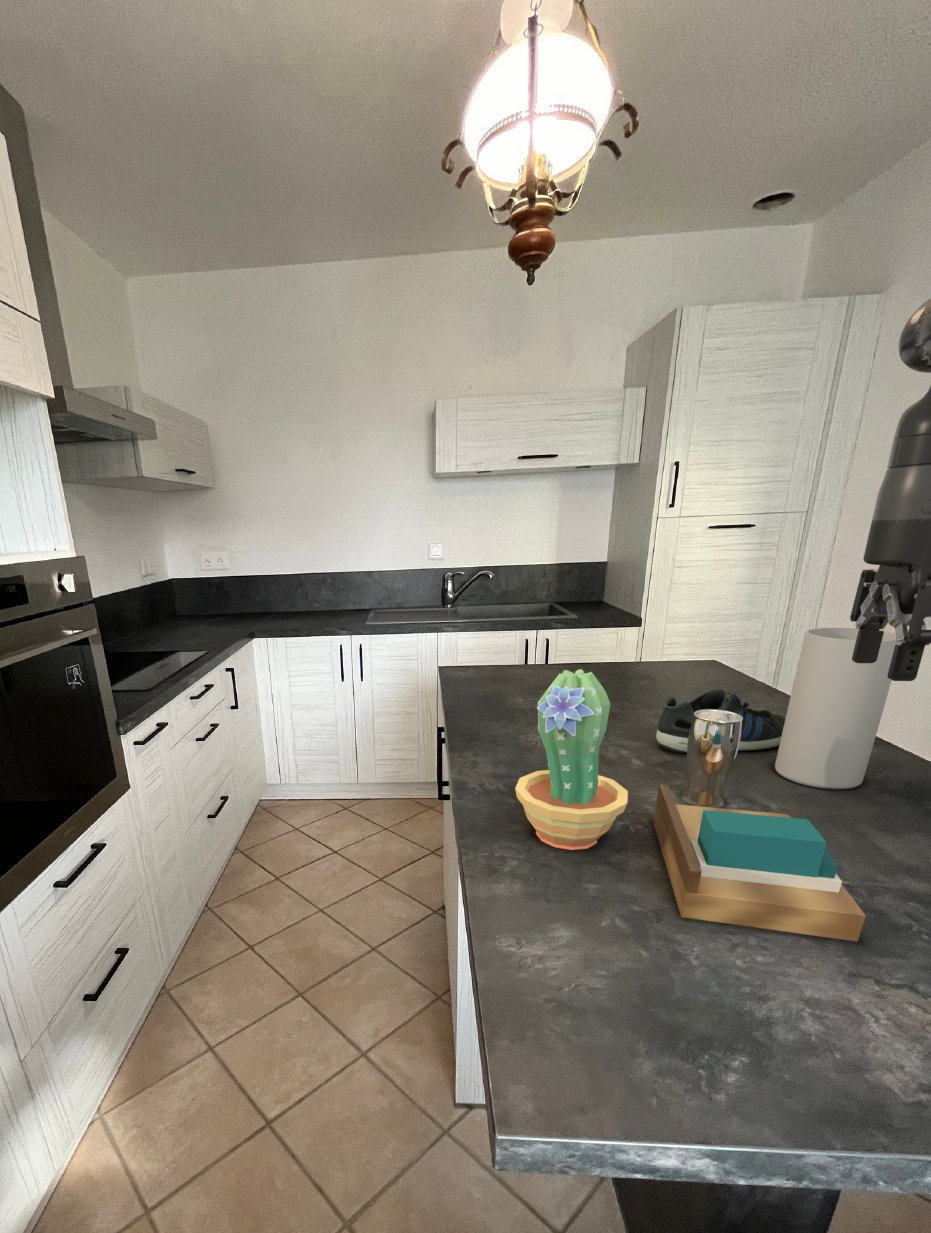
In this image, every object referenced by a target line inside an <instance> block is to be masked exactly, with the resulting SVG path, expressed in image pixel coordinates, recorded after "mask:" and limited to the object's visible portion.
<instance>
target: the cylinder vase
mask: <svg viewBox="0 0 931 1233" xmlns="http://www.w3.org/2000/svg"><path fill="white" fill-rule="evenodd" d="M859 630H860V629H856V627H816V628H809V629H806V630H805V632H804V634H803V635H804V636H803V640H802V644H801V649H800V654H799V658H798V662H797V665H796V671H795V676H794V680H793V684H792V689H791V693H790V698H789V701H788V706H787V710H786V715H785V718H786V719H785V723H784V728H783V732H782V737H781V741H780V745H779V746H778V750H777V754H776V759H775V763H774V769H775V771H776V772H777V774H779V775H780V776H782V777H783V778H784V779H787V780H788V781H791V782H794V783H795V784H796V783H797V784H800V785H803V786H807V787H810V788H811V787H812V788H817V789H824V790H849V789H855V788H857V787H859V786H860V785H862V783H863V782H864V778H865V775H866V771H867V768H868V765H869V761H870V757H871V754H872V751H873V748H874V743H875V740H876V737H877V733H878V730H879V726H880V724H881V720H882V716H883V712H884V709H885V706H886V702H887V699H888V695H889V692H890V687H891V685H892V681H893V680H891V679H889V678H888V676H887V675H888V671H889V667H890V664H891V660H892V656H893V652H894V648H895V645H898V644H897V642H896V633H895V632H891V631H886V630H883V631H884V634H883V638H882V642H881V646H880V650H879V654H878V658H877V661H876V662H874V663H856V662H854V661H853V660H852V656H853V652H854V647H855V643H856V639H857V634H858V631H859Z"/></svg>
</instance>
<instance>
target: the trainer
mask: <svg viewBox="0 0 931 1233" xmlns="http://www.w3.org/2000/svg"><path fill="white" fill-rule="evenodd" d="M691 845H692V848H693V850H694V853H695V855H696V858H697V860H698V863H699V866H700V868H701V871H702V873H701V876H703V877H711V878H719V879H728V880H736V881H744V882H753V883H761V884H770V885H778V886H786V887H795V888H803V889H812V890H820V891H828V892H837V893H839V891H840V887H841V884H842V883H843V880H842V879H841V878H840V876H839V875H838V874H837V872H838V867H839V864H838V863H837V861H836V860H835V858H833V856H832V855H831V854H830V853H829V851H828V849H827V848H826V847H827V840H826V839H825V838H824V837H823V836H822V835H821V833H820V832H819V831H818V830H817V828H816V827H815V826H814V825H813V824H812V823H811V821H810V820H809V819H807V818H799V817H791V818H787V817H776V816H765V815H754V814H743V813H732V812H721V811H710V810H703V815H702V820H701V825H700V831H699V836H698V841H691ZM842 885H843V884H842Z"/></svg>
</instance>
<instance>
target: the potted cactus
mask: <svg viewBox="0 0 931 1233" xmlns="http://www.w3.org/2000/svg"><path fill="white" fill-rule="evenodd" d="M610 708H611V701H610V699H609V697H608V694H607V691H606V690H605V689H604V687H603V686H602V684H601V683H600V681H599V680H598V678H597V677H596V675H595V674H594V673H593V672H592V671H590V672H586V673H585V672H584V670H583V669H580V668H579V669H577V670H576V671H575V672H572V671H570V670H567V669H565V670H563V671H562V672H561V673H558V675H557V676H556V678H554V680H553V681H552V683H551V684H550V685H549V686H548V688H547V689H546V690H545V691H544V693H543V694H542V696H541V697H540V698H539V700H538V701H537V707H536V709H537V733H538V735H539V737H540V739H541V742H542V744H543V747H544V750H545V753H546V759H547V760H546V761H547V766H548V769H545V770H536V771H534V772H531V773H529V774H526V775H523V776H521V777H519V779H518V782H517V783H516V786H515V788H514V789H515V790H514V791H515V794H516V798H517V800H518V801H519V802H520V803H521V805H522V807H523V810H524V814H525V816H526V819H527V820H528V821H529V823H530V824H531V825H532V827H533V828H534V830H535V835H536V836H537V837H538V839H539V840H540V841H541V842H543V843H545V844H547V845H549V846H551V847H554V848H558V849H564V850H569V851H576V850H584V849H589V848H591V847H593V846H595V845H596V844H598V840H599V839H600V838H601V837H602V836H603V835H604V834H606V833H607V832H608V831H609V830H610V829H611V827H612V826H613V824H614V822H615V820H616V819H617V817H618V816H620V815H622V814H623V813H624V812H625V810H626V807H627V804H628V801H629V798H628V797H629V796H628V795H629V791H628V789H626V788H625V787H623V786H622V785H621V784H620V783H618V782H617V781H615V780H614V779H612V778H609V777H606V776H604V775H603V776H602V775H600V774H599V763H600V762H599V759H600V754H599V752H600V748H601V745H602V742H603V741H604V738H605V734H606V732H607V727H608V721H609V716H610V715H609V714H610Z"/></svg>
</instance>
